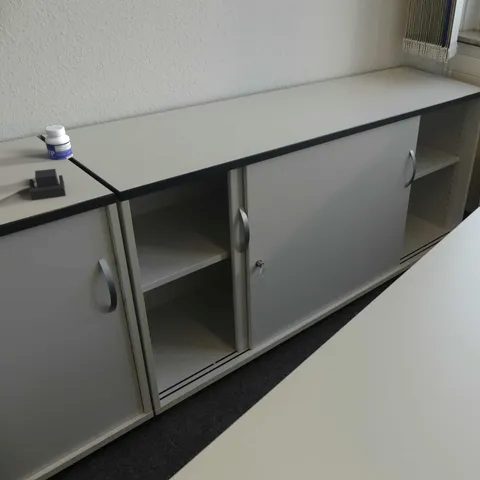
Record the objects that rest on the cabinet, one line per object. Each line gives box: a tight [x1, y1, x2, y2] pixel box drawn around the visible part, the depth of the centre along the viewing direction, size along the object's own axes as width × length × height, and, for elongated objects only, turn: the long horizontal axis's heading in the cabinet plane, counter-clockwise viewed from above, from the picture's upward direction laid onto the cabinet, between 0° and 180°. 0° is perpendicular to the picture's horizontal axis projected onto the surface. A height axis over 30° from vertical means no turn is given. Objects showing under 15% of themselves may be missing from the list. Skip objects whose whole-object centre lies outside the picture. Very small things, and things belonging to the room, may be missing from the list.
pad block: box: [34, 168, 60, 188], centre depth 120 cm, size 4×4×4 cm
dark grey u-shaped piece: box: [28, 174, 67, 201], centre depth 120 cm, size 7×7×2 cm
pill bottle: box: [44, 124, 74, 161], centre depth 132 cm, size 5×5×9 cm
